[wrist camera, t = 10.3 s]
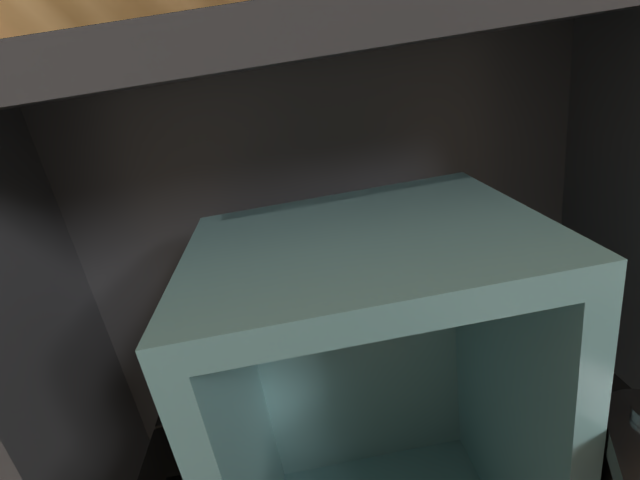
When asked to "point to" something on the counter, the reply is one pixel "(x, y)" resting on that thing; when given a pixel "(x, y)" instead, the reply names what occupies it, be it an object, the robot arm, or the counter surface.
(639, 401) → the robot arm
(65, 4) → the counter surface
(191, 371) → the teal crate
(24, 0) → the counter surface
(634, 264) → the charcoal crate
